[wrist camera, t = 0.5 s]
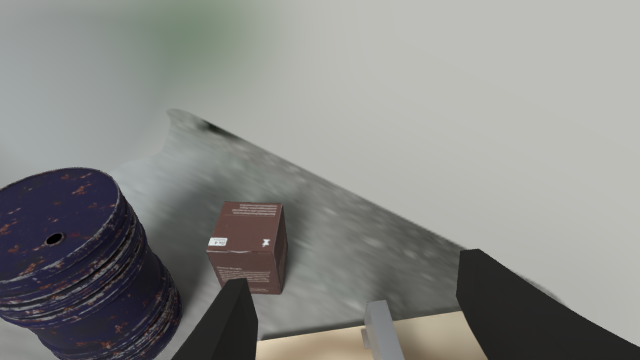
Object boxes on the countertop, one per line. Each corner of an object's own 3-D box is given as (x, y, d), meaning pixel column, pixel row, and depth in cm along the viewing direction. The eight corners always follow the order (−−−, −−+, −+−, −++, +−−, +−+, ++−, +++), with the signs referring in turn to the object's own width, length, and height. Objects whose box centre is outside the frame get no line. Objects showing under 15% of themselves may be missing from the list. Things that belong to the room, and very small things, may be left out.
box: (289, 247, 37) (284, 202, 32) (281, 297, 33) (274, 253, 28) (236, 244, 38) (223, 199, 33) (221, 293, 33) (204, 250, 28)
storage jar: (50, 328, 31) (-82, 223, 21) (149, 259, 36) (83, 149, 26) (99, 409, 26) (-41, 325, 16) (204, 315, 31) (149, 208, 21)
